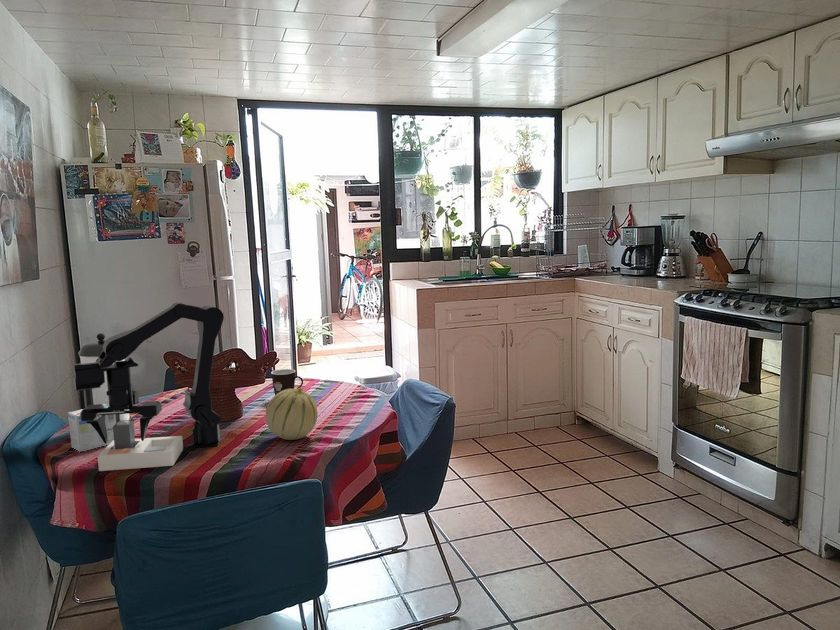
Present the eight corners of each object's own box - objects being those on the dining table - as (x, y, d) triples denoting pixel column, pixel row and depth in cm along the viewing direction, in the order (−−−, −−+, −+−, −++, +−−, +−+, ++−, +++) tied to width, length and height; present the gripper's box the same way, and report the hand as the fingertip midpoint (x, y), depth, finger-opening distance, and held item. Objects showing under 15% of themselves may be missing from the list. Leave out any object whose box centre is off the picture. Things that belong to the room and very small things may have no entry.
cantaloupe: (264, 434, 183) (261, 385, 181) (313, 427, 188) (311, 379, 186) (270, 450, 169) (268, 397, 167) (323, 442, 174) (321, 391, 172)
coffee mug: (268, 399, 221) (266, 372, 220) (288, 394, 227) (287, 368, 226) (284, 405, 213) (283, 377, 211) (305, 400, 218) (304, 373, 217)
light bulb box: (108, 438, 182) (105, 403, 180) (119, 442, 177) (116, 406, 176) (70, 448, 173) (66, 411, 172) (80, 453, 169) (76, 415, 168)
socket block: (183, 449, 171) (182, 434, 170) (173, 465, 159) (171, 449, 158) (114, 454, 168) (113, 439, 167) (98, 471, 156) (97, 454, 156)
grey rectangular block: (136, 456, 166) (133, 418, 165) (132, 461, 162) (128, 423, 161) (120, 457, 165) (117, 419, 164) (116, 463, 161) (112, 424, 160)
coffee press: (71, 429, 190) (61, 334, 186) (124, 417, 202) (116, 327, 198) (91, 442, 178) (81, 340, 174) (146, 428, 190) (138, 333, 186)
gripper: (164, 375, 170) (168, 429, 172) (92, 379, 167) (97, 434, 169) (153, 385, 159) (158, 443, 161) (76, 389, 156) (82, 448, 159)
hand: (124, 441), depth 163 cm, fingers open, 9 cm apart
